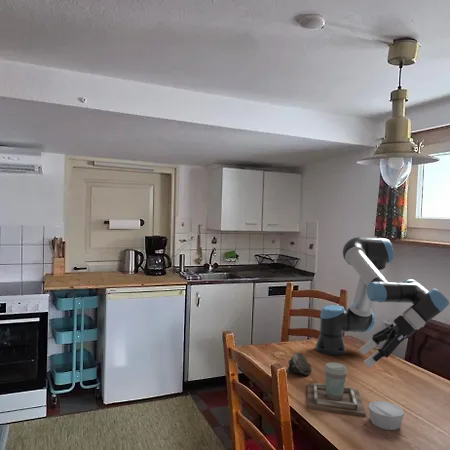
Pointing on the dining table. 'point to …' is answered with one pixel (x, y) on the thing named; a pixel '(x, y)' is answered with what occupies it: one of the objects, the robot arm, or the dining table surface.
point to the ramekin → (385, 415)
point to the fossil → (299, 365)
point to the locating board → (346, 405)
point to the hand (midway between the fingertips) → (363, 358)
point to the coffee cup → (335, 380)
